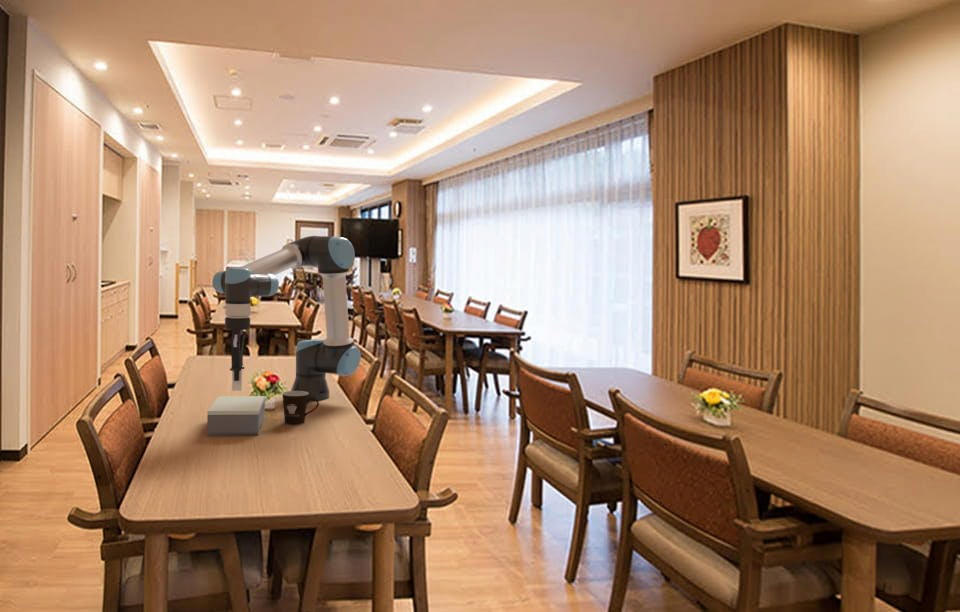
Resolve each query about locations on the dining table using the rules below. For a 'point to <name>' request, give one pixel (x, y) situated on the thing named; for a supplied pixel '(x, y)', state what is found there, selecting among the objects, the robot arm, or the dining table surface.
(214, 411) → the box lid
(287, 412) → the coffee mug
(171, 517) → the dining table surface
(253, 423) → the open storage box
